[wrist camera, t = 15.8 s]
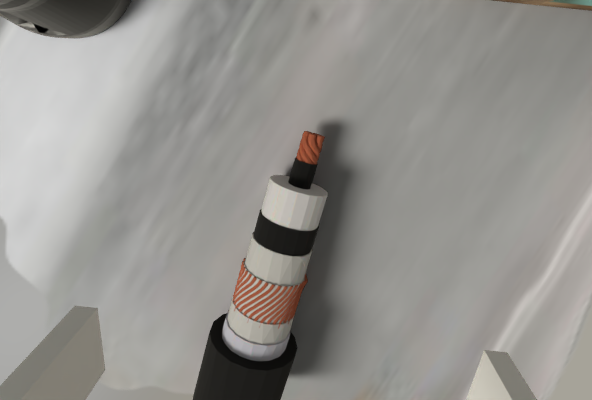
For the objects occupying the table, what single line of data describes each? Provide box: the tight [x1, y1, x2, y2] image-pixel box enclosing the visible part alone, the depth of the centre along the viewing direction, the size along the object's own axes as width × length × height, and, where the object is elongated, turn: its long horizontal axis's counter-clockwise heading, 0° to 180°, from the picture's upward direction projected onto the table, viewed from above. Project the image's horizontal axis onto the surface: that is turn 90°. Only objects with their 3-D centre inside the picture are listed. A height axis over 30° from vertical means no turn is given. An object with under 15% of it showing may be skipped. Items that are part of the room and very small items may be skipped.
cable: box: [193, 131, 328, 400], centre depth 41 cm, size 10×34×10 cm, turn 164°
